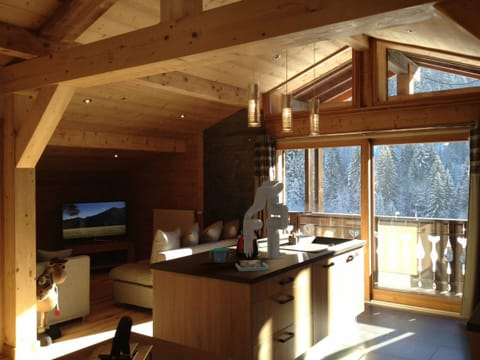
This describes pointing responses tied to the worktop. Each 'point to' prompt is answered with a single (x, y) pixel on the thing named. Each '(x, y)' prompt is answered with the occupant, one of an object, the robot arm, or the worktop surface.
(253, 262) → the T block
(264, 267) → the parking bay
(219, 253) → the snack cup
